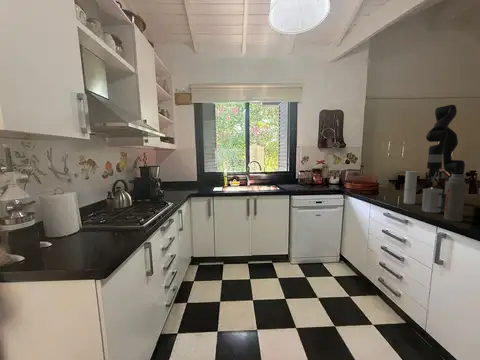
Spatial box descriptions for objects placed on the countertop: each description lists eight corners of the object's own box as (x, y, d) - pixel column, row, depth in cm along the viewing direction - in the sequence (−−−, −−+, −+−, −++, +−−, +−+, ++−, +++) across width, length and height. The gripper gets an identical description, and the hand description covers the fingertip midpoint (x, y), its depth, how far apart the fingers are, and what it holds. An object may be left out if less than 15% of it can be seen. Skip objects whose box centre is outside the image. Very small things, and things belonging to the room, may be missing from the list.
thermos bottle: (444, 219, 134) (448, 172, 131) (443, 216, 140) (447, 171, 137) (463, 222, 129) (468, 173, 126) (461, 219, 135) (466, 172, 132)
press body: (427, 208, 160) (429, 187, 158) (448, 213, 148) (450, 190, 147) (418, 210, 156) (420, 188, 155) (439, 214, 145) (441, 191, 143)
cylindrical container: (416, 204, 175) (419, 171, 172) (406, 203, 176) (408, 171, 173) (411, 202, 181) (414, 171, 179) (401, 202, 183) (404, 171, 180)
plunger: (429, 206, 157) (431, 180, 155) (437, 208, 152) (440, 181, 150) (424, 207, 155) (426, 180, 153) (433, 209, 150) (435, 181, 148)
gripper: (435, 161, 156) (433, 185, 158) (421, 161, 151) (419, 187, 153) (448, 161, 149) (446, 187, 151) (434, 162, 144) (432, 188, 146)
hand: (432, 186), depth 152 cm, fingers open, 5 cm apart
